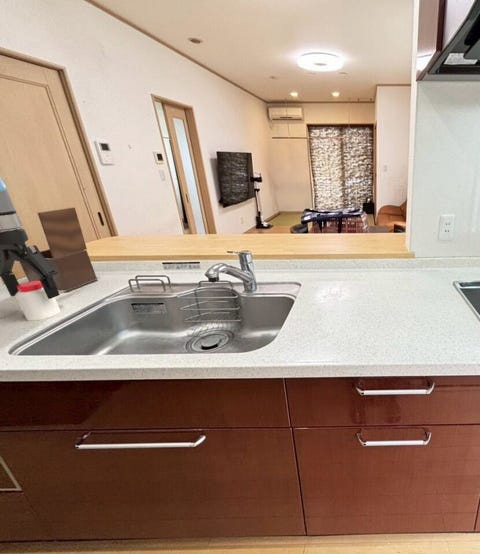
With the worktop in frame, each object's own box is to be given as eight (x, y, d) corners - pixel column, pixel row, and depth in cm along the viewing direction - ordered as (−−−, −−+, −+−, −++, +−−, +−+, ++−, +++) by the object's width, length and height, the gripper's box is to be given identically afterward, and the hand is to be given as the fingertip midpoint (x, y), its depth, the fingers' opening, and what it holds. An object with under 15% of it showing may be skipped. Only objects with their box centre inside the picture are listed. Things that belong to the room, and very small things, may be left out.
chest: (32, 290, 113) (17, 257, 108) (64, 278, 124) (52, 248, 119) (68, 292, 112) (54, 259, 107) (97, 280, 122) (86, 250, 117)
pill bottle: (26, 314, 96) (11, 284, 92) (59, 306, 101) (46, 277, 97) (26, 323, 91) (10, 291, 87) (61, 314, 96) (47, 283, 92)
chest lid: (37, 212, 100) (39, 212, 100) (73, 207, 111) (75, 207, 111) (52, 258, 106) (54, 258, 106) (85, 248, 117) (87, 249, 117)
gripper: (55, 228, 87) (82, 292, 95) (-15, 225, 90) (16, 288, 98) (25, 234, 80) (56, 303, 88) (-50, 231, 83) (-14, 298, 91)
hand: (35, 295), depth 93 cm, fingers open, 13 cm apart
